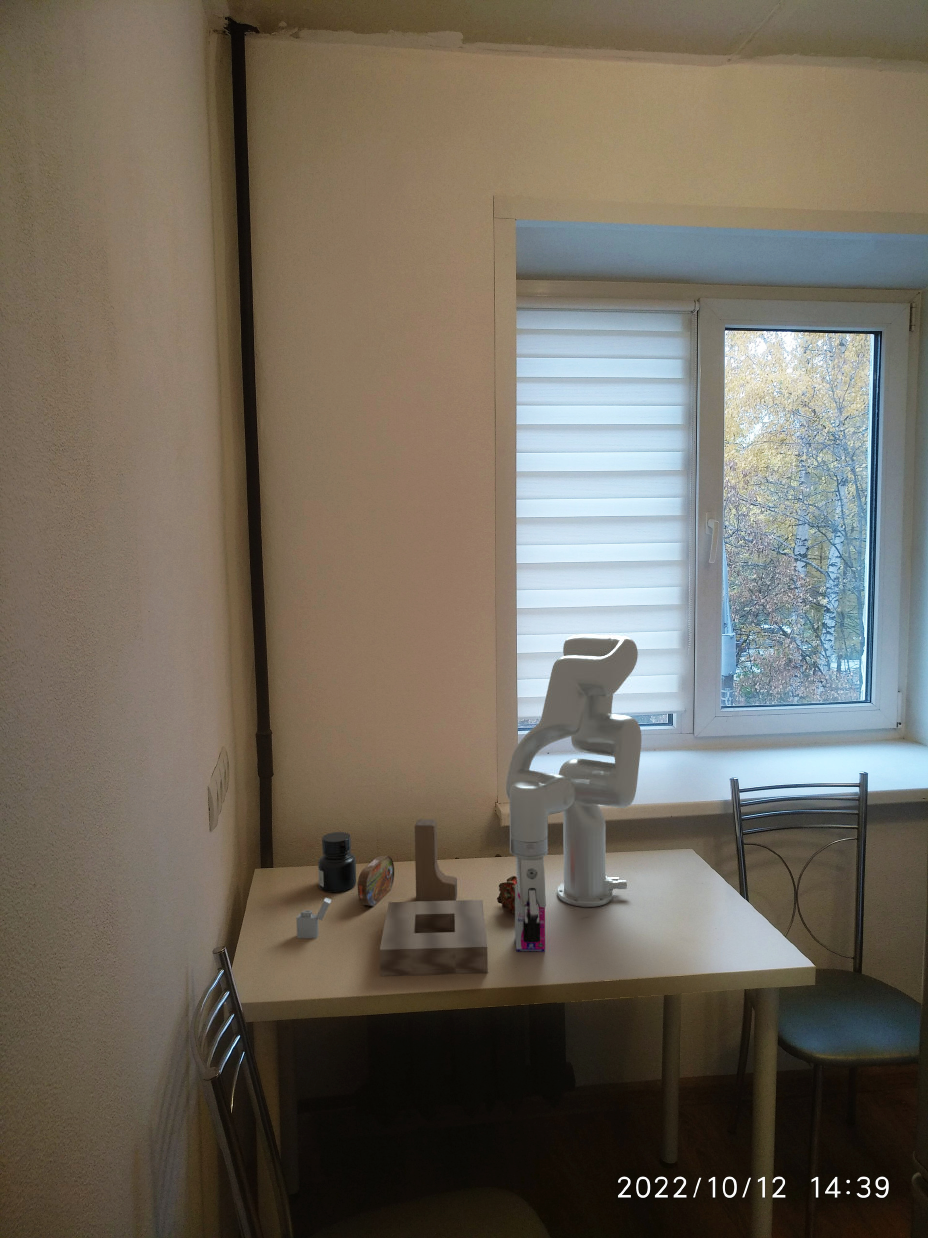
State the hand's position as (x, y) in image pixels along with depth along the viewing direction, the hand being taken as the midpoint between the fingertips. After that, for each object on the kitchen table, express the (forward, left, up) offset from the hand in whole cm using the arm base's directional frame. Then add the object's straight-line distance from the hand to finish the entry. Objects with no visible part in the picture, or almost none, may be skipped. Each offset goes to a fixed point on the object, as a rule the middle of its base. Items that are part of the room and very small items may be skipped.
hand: (529, 932), depth 149 cm
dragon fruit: (+1, -16, -3) cm, 16 cm away
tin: (+33, -24, -3) cm, 41 cm away
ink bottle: (+43, -31, -3) cm, 53 cm away
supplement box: (0, 0, -3) cm, 3 cm away
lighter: (+44, -6, -3) cm, 44 cm away
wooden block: (+19, -22, -3) cm, 29 cm away
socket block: (+19, 0, -3) cm, 19 cm away
